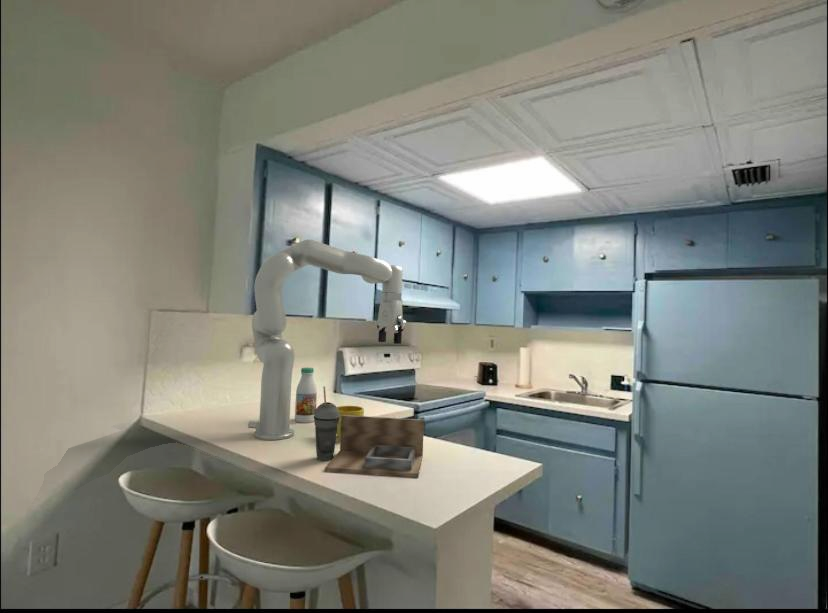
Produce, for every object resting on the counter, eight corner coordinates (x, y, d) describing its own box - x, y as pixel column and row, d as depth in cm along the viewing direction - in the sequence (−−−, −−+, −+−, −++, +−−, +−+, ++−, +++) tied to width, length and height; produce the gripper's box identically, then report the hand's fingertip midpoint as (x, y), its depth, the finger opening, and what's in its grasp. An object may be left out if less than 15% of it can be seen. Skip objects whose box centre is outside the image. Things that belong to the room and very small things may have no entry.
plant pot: (324, 438, 144) (325, 408, 145) (346, 432, 153) (347, 404, 153) (347, 444, 138) (348, 413, 139) (369, 438, 147) (370, 408, 147)
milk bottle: (290, 421, 166) (292, 367, 167) (305, 417, 173) (308, 366, 173) (304, 424, 162) (306, 369, 163) (319, 420, 168) (322, 368, 169)
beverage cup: (330, 464, 119) (333, 390, 119) (306, 460, 121) (309, 387, 121) (342, 456, 126) (345, 386, 126) (319, 452, 128) (322, 383, 128)
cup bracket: (324, 471, 114) (326, 428, 114) (340, 452, 129) (342, 415, 130) (418, 477, 111) (419, 433, 112) (422, 458, 127) (423, 419, 128)
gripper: (370, 297, 174) (368, 341, 173) (397, 296, 160) (395, 344, 160) (386, 298, 178) (384, 341, 178) (413, 298, 165) (411, 344, 165)
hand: (389, 342), depth 169 cm, fingers open, 9 cm apart
